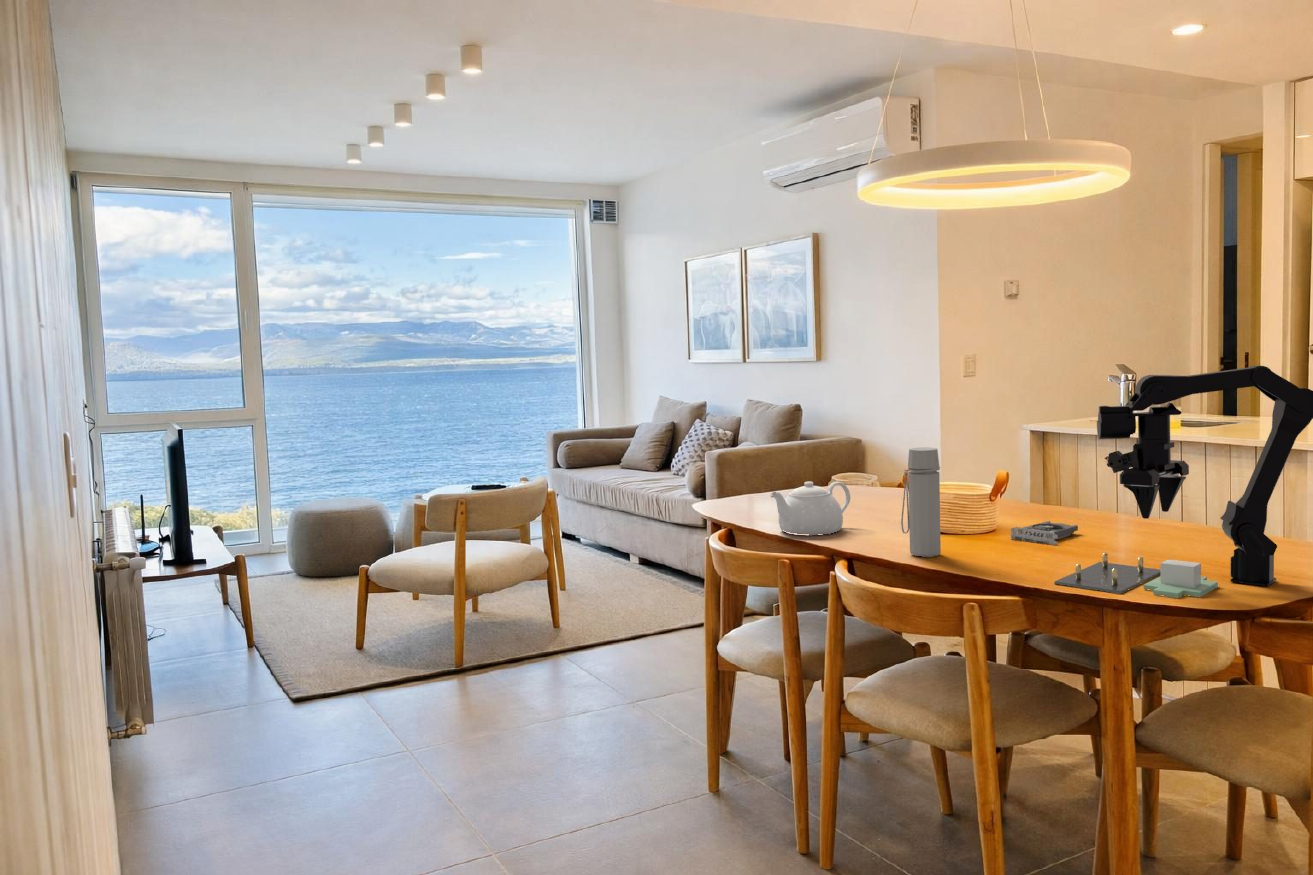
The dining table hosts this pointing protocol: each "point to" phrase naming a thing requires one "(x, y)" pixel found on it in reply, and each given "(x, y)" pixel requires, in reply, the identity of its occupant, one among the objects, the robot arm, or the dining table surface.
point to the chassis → (1109, 576)
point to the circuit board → (1180, 589)
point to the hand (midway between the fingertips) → (1155, 514)
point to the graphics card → (1043, 532)
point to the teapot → (811, 509)
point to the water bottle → (923, 502)
